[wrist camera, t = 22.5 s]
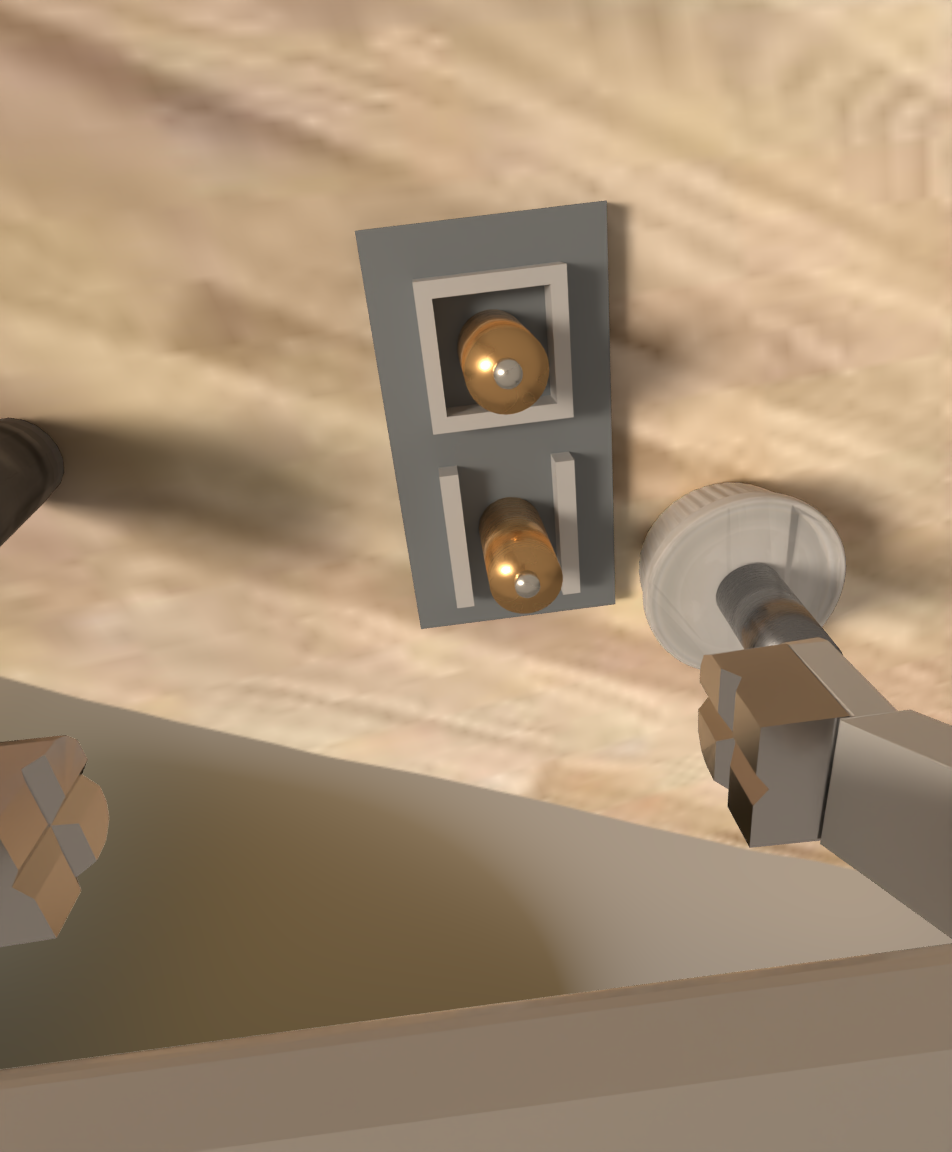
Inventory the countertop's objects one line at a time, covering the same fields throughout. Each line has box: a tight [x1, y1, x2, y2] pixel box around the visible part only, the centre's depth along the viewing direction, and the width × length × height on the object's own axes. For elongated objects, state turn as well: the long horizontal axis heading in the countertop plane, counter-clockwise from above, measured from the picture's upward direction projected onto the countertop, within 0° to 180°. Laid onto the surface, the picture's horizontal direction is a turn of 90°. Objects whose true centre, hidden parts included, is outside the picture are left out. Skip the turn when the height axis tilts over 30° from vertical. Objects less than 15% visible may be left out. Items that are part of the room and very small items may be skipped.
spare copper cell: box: [479, 497, 563, 614], centre depth 37 cm, size 4×4×8 cm
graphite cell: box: [716, 564, 843, 655], centre depth 36 cm, size 4×4×8 cm
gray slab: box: [355, 201, 615, 629], centre depth 38 cm, size 22×12×3 cm, turn 6°
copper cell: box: [457, 309, 549, 415], centre depth 33 cm, size 4×4×8 cm
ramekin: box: [639, 482, 846, 669], centre depth 41 cm, size 11×11×5 cm
